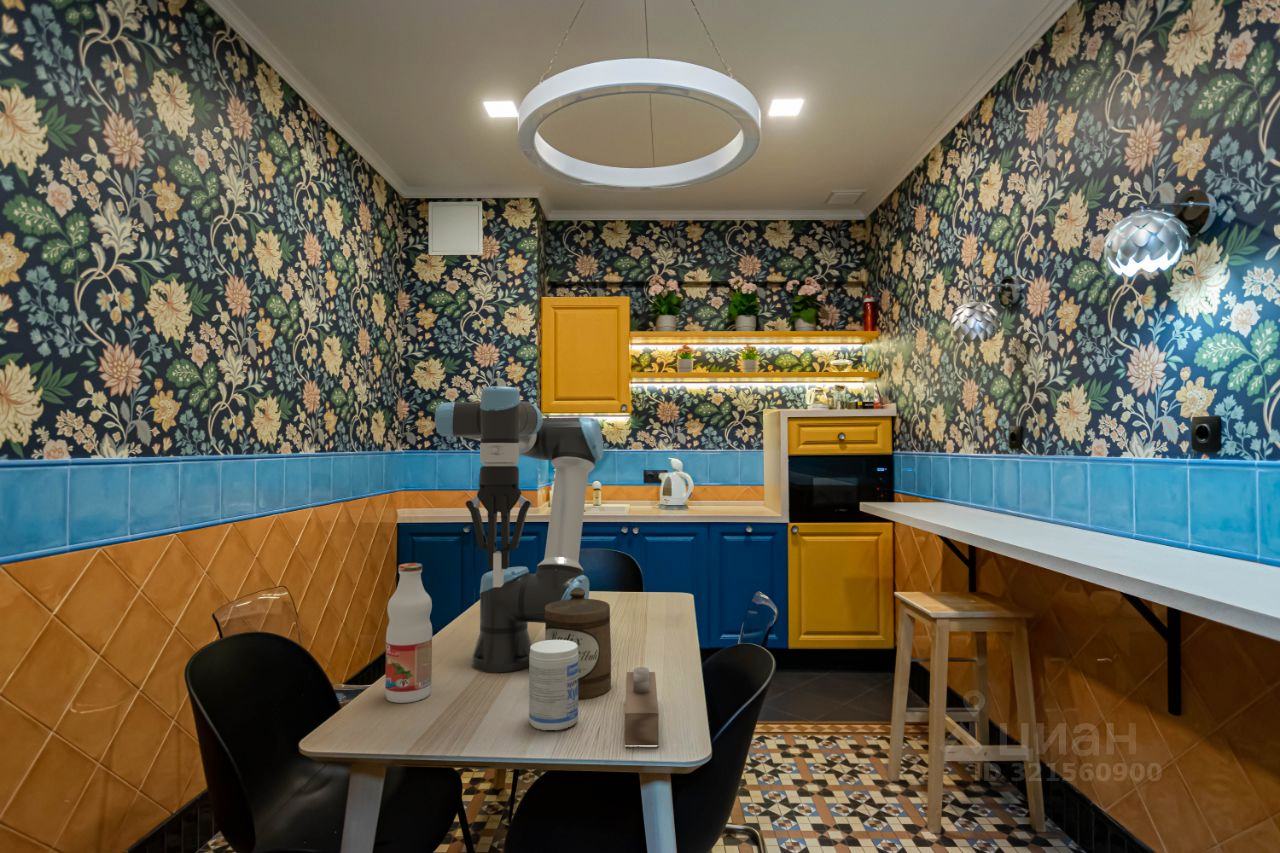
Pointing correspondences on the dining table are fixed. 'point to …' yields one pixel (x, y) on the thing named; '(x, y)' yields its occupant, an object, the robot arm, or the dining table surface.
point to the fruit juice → (409, 639)
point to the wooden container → (584, 638)
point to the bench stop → (641, 708)
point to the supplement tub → (553, 684)
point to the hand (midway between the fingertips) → (498, 585)
